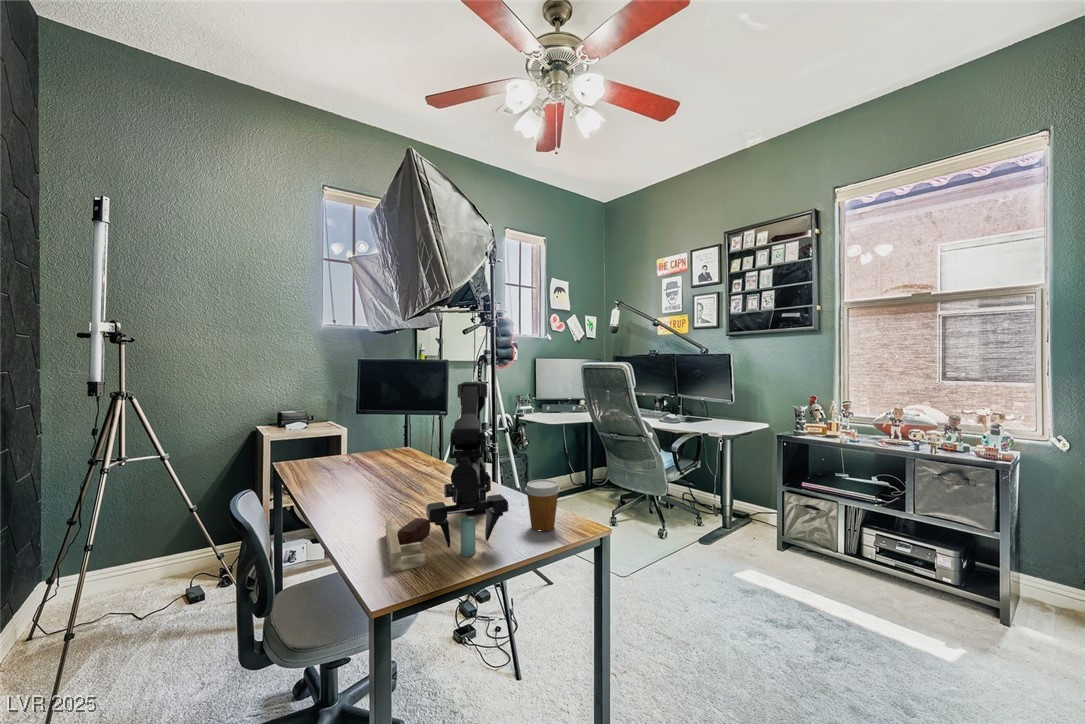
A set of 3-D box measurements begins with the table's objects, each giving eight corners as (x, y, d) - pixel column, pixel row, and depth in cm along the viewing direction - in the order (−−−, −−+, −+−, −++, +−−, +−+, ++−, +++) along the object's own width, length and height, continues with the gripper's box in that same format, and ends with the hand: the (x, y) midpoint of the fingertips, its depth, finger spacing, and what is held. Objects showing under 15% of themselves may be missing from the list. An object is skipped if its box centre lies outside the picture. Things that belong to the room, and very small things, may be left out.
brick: (411, 551, 106) (411, 532, 106) (396, 550, 107) (396, 530, 107) (430, 534, 116) (430, 516, 116) (417, 533, 117) (417, 515, 117)
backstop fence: (413, 531, 118) (413, 516, 118) (424, 565, 98) (424, 548, 98) (385, 535, 115) (385, 520, 115) (391, 571, 95) (391, 553, 95)
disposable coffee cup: (529, 520, 126) (529, 478, 126) (562, 522, 124) (562, 479, 124) (521, 533, 116) (521, 488, 116) (557, 535, 115) (557, 489, 114)
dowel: (473, 548, 107) (473, 516, 107) (477, 554, 104) (476, 521, 103) (459, 551, 105) (459, 518, 105) (462, 557, 102) (462, 523, 102)
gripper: (495, 466, 115) (495, 525, 116) (422, 474, 108) (423, 537, 108) (508, 477, 105) (509, 541, 105) (429, 486, 98) (430, 555, 98)
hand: (468, 543), depth 104 cm, fingers open, 9 cm apart
